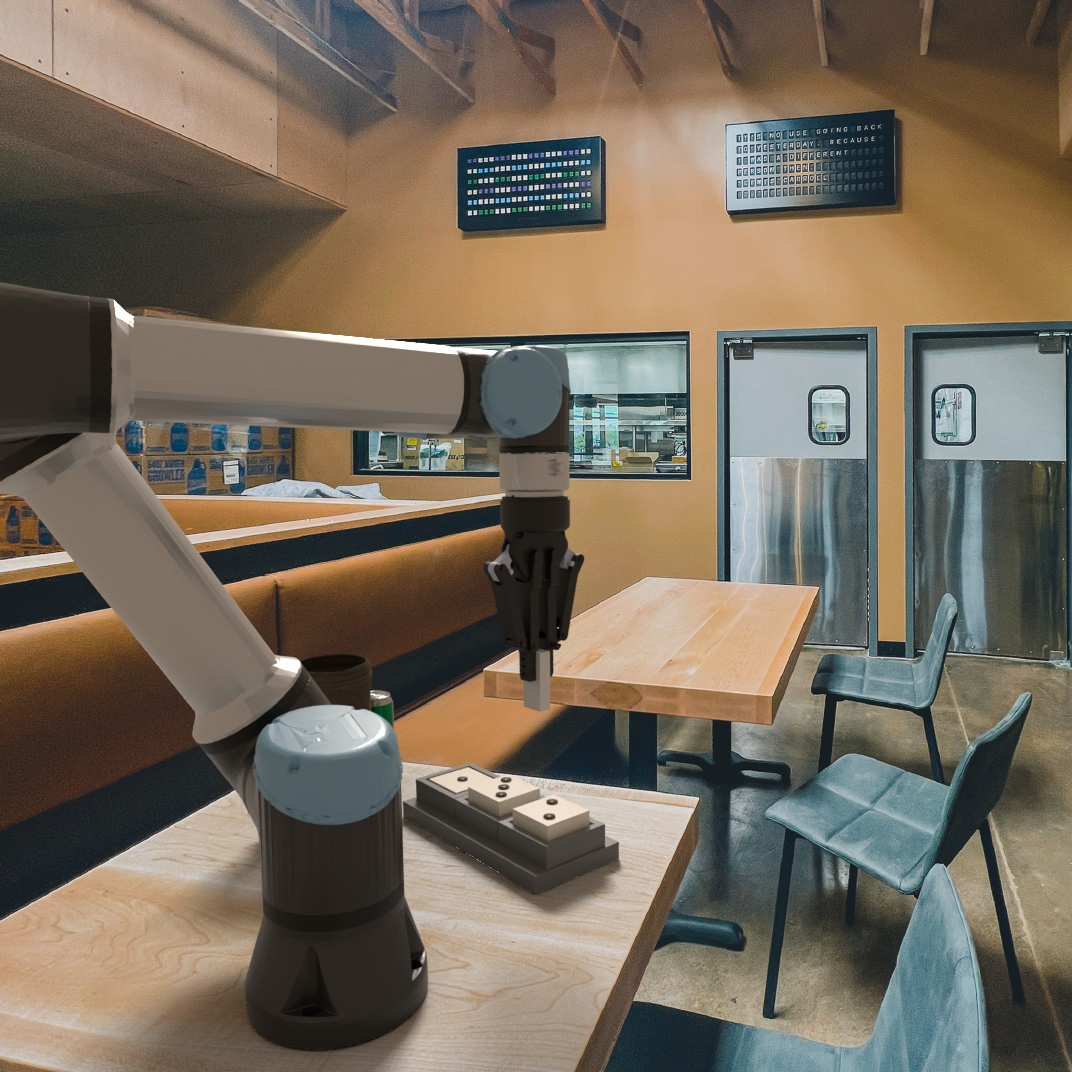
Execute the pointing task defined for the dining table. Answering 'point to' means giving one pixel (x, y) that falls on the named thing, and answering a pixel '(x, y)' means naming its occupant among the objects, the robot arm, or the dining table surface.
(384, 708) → the soda can
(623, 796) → the dining table surface
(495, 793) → the tile three dots
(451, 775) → the tile one dot
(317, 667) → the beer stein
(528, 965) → the dining table surface
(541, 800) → the tile two dots
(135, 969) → the dining table surface
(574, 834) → the button panel
